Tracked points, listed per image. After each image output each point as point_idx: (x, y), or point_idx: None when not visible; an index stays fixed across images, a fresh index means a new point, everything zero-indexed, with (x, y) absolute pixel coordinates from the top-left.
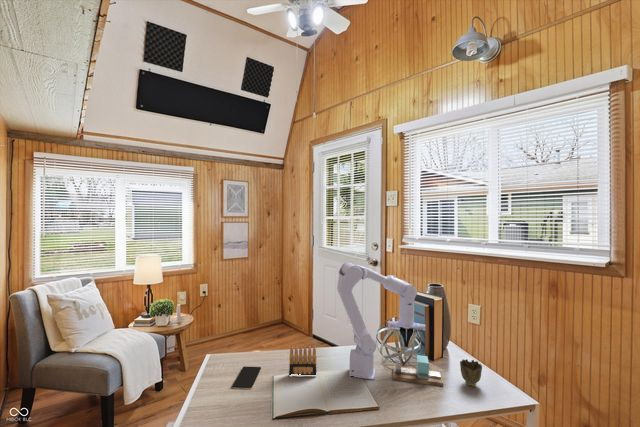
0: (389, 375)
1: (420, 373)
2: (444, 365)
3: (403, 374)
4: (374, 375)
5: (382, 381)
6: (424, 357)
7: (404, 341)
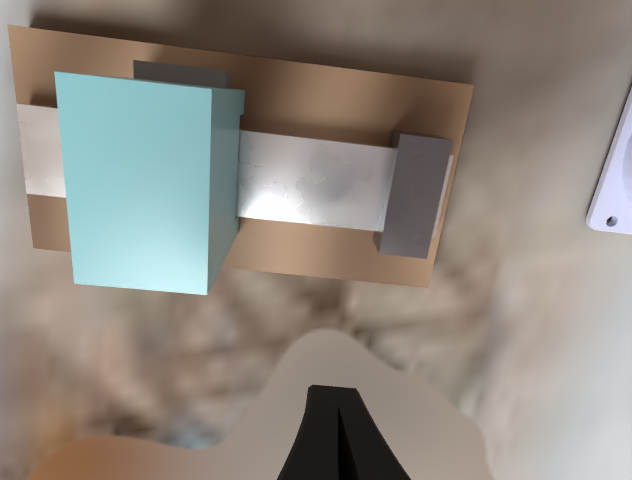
0: (479, 153)
1: (209, 79)
2: (12, 374)
3: (368, 136)
4: (627, 109)
5: (568, 33)
6: (112, 244)
7: (377, 444)
